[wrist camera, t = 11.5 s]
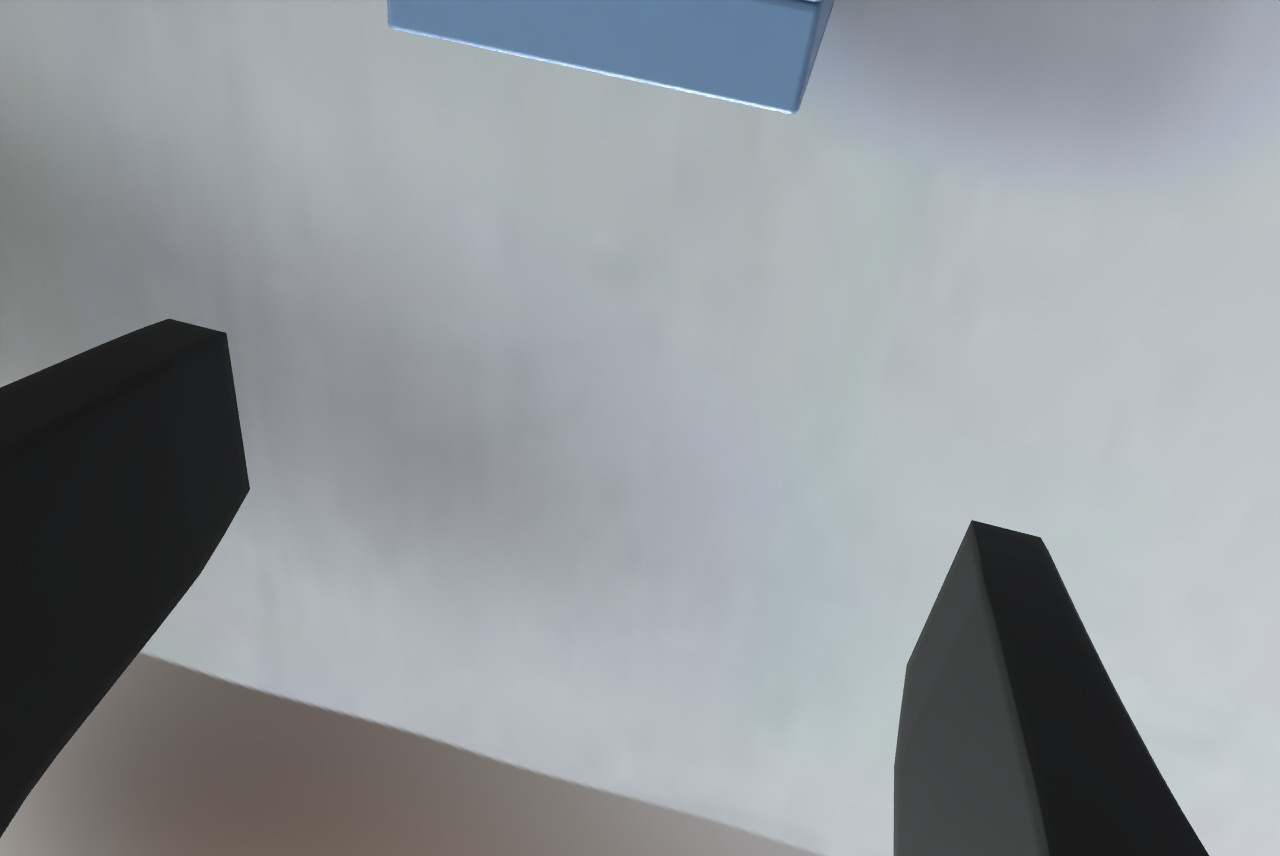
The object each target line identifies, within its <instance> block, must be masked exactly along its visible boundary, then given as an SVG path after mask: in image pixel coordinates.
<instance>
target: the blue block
mask: <svg viewBox="0 0 1280 856" xmlns="http://www.w3.org/2000/svg"><path fill="white" fill-rule="evenodd" d="M833 2H834V0H387V5H388V24H389V27H391V28H392V29H395V30H400V31H404V32H409V33H414V34H418V35H423V36H428V37H432V38H437V39H442V40H446V41H451V42H456V43H460V44H465V45H470V46H474V47H479V48H484V49H488V50H493V51H498V52H502V53H507V54H512V55H516V56H521V57H526V58H530V59H535V60H540V61H544V62H549V63H554V64H558V65H563V66H568V67H572V68H577V69H582V70H586V71H591V72H596V73H600V74H605V75H610V76H614V77H619V78H624V79H628V80H633V81H638V82H642V83H647V84H652V85H656V86H661V87H666V88H670V89H675V90H680V91H684V92H689V93H694V94H698V95H703V96H708V97H712V98H717V99H721V100H726V101H731V102H735V103H740V104H745V105H749V106H754V107H759V108H763V109H768V110H773V111H777V112H782V113H787V114H795V113H796V112H797V111H798V109H799V107H800V104H801V101H802V98H803V95H804V92H805V89H806V86H807V83H808V80H809V77H810V74H811V71H812V68H813V65H814V62H815V59H816V55H817V52H818V49H819V46H820V43H821V40H822V37H823V34H824V31H825V28H826V25H827V22H828V19H829V16H830V13H831V10H832V7H833Z"/></svg>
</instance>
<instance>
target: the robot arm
mask: <svg viewBox="0 0 1280 856" xmlns="http://www.w3.org/2000/svg"><path fill="white" fill-rule="evenodd" d="M249 490H250V487H249V481H248V474H247V467H246V461H245V454H244V447H243V441H242V434H241V427H240V421H239V414H238V407H237V401H236V394H235V387H234V381H233V374H232V367H231V361H230V354H229V348H228V341H227V334H226V333H224V332H220V331H216V330H212V329H208V328H204V327H200V326H196V325H192V324H188V323H184V322H180V321H176V320H172V319H167V320H164V321H161V322H158V323H155V324H152V325H150V326H147V327H144V328H141V329H139V330H136V331H134V332H131V333H129V334H126V335H124V336H121V337H119V338H116V339H114V340H111V341H109V342H107V343H104V344H102V345H99V346H97V347H95V348H92V349H90V350H88V351H85V352H83V353H81V354H78V355H76V356H74V357H71V358H69V359H67V360H64V361H62V362H60V363H57V364H55V365H53V366H50V367H48V368H46V369H43V370H41V371H39V372H36V373H34V374H32V375H29V376H27V377H25V378H22V379H20V380H18V381H15V382H13V383H11V384H8V385H6V386H4V387H1V388H0V837H1V836H2V834H3V833H4V831H5V830H6V828H7V827H8V825H9V823H10V822H11V820H12V819H13V817H14V816H15V814H16V812H17V811H18V809H19V808H20V806H21V805H22V803H23V802H24V800H25V799H26V797H27V796H28V794H29V793H30V792H31V790H32V789H33V788H34V786H35V785H36V783H37V782H38V781H39V779H40V778H41V776H42V775H43V774H44V772H45V771H46V770H47V768H48V767H49V766H50V764H51V763H52V762H53V760H54V759H55V758H56V756H57V755H58V753H59V752H60V751H61V750H62V749H63V747H64V746H65V745H66V744H67V742H68V741H69V740H70V738H71V737H72V736H73V735H74V733H75V732H76V731H77V730H78V728H79V727H80V726H81V725H82V723H83V722H84V721H85V720H86V718H87V717H88V716H89V715H90V713H91V712H92V711H93V710H94V708H95V707H96V706H97V705H98V703H99V702H100V701H101V700H102V698H103V697H104V696H105V694H106V693H107V692H108V691H109V689H110V688H111V687H112V686H113V684H114V683H115V682H116V681H117V679H118V678H119V677H120V676H121V674H122V673H123V672H124V671H125V669H126V668H127V667H128V665H129V664H130V663H131V662H132V661H133V659H134V658H135V657H136V656H137V654H138V653H139V652H140V651H141V649H142V648H143V647H144V646H145V644H146V643H147V642H148V641H149V639H150V638H151V637H152V635H153V634H154V633H155V632H156V630H157V629H158V628H159V627H160V625H161V624H162V623H163V621H164V620H165V619H166V618H167V616H168V615H169V614H170V612H171V611H172V610H173V609H174V607H175V606H176V605H177V603H178V602H179V601H180V600H181V598H182V597H183V596H184V594H185V593H186V592H187V591H188V589H189V588H190V587H191V585H192V584H193V583H194V581H195V580H196V579H197V577H198V576H199V575H200V573H201V572H202V570H203V569H204V567H205V565H206V564H207V562H208V560H209V559H210V557H211V556H212V554H213V552H214V551H215V549H216V547H217V546H218V544H219V542H220V541H221V539H222V538H223V536H224V534H225V532H226V531H227V529H228V527H229V525H230V524H231V522H232V520H233V518H234V516H235V515H236V513H237V511H238V509H239V508H240V506H241V504H242V502H243V500H244V499H245V497H246V495H247V493H248V492H249ZM894 856H1209V855H1208V853H1207V851H1206V850H1205V848H1204V846H1203V845H1202V843H1201V841H1200V840H1199V838H1198V837H1197V835H1196V833H1195V832H1194V830H1193V828H1192V827H1191V825H1190V823H1189V822H1188V820H1187V818H1186V817H1185V815H1184V813H1183V812H1182V810H1181V808H1180V807H1179V805H1178V803H1177V801H1176V800H1175V798H1174V796H1173V794H1172V793H1171V791H1170V789H1169V787H1168V786H1167V784H1166V782H1165V780H1164V779H1163V777H1162V775H1161V773H1160V772H1159V770H1158V768H1157V766H1156V764H1155V762H1154V761H1153V759H1152V757H1151V755H1150V753H1149V751H1148V749H1147V748H1146V746H1145V744H1144V742H1143V740H1142V738H1141V736H1140V735H1139V733H1138V731H1137V729H1136V727H1135V725H1134V724H1133V722H1132V720H1131V718H1130V716H1129V714H1128V712H1127V711H1126V709H1125V707H1124V705H1123V703H1122V701H1121V699H1120V697H1119V695H1118V694H1117V692H1116V690H1115V688H1114V686H1113V684H1112V682H1111V680H1110V678H1109V676H1108V674H1107V672H1106V670H1105V668H1104V666H1103V664H1102V662H1101V660H1100V658H1099V656H1098V654H1097V652H1096V650H1095V648H1094V646H1093V644H1092V642H1091V640H1090V638H1089V636H1088V634H1087V632H1086V630H1085V627H1084V625H1083V623H1082V621H1081V619H1080V617H1079V615H1078V613H1077V611H1076V609H1075V607H1074V604H1073V602H1072V600H1071V598H1070V596H1069V594H1068V592H1067V590H1066V587H1065V585H1064V583H1063V581H1062V579H1061V577H1060V575H1059V573H1058V570H1057V568H1056V566H1055V564H1054V562H1053V560H1052V558H1051V556H1050V553H1049V551H1048V549H1047V548H1046V546H1045V544H1044V543H1043V541H1042V539H1041V537H1037V536H1033V535H1029V534H1025V533H1021V532H1017V531H1013V530H1009V529H1005V528H1001V527H997V526H993V525H989V524H985V523H981V522H977V521H973V520H972V521H971V523H970V525H969V527H968V529H967V532H966V534H965V536H964V538H963V541H962V543H961V545H960V547H959V550H958V552H957V554H956V556H955V559H954V561H953V563H952V565H951V567H950V570H949V572H948V574H947V576H946V579H945V581H944V583H943V585H942V588H941V590H940V592H939V594H938V597H937V599H936V601H935V603H934V605H933V608H932V610H931V612H930V614H929V617H928V619H927V621H926V623H925V626H924V628H923V630H922V632H921V635H920V637H919V639H918V641H917V643H916V646H915V648H914V650H913V652H912V655H911V657H910V659H909V661H908V664H907V668H906V675H905V683H904V690H903V698H902V706H901V713H900V721H899V730H898V739H897V747H896V756H895V765H894Z"/></svg>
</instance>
